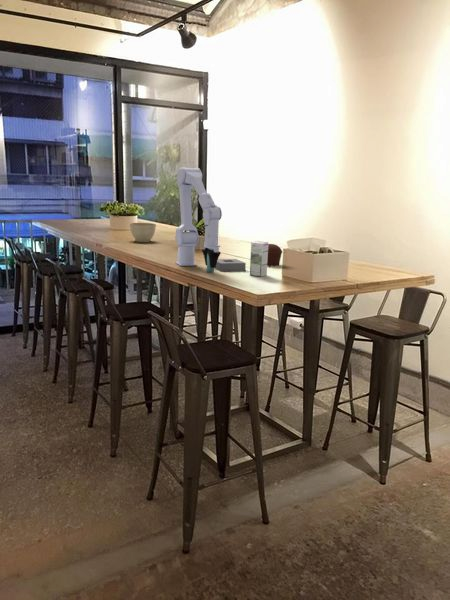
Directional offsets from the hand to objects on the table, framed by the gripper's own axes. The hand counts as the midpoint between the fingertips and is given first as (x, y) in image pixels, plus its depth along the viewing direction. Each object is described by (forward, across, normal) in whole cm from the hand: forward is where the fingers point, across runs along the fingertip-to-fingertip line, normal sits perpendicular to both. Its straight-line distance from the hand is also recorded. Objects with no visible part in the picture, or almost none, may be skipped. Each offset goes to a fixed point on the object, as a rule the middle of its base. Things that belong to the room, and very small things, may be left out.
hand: (210, 266), depth 227 cm
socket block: (+2, +7, -11) cm, 13 cm away
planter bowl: (+3, +110, +7) cm, 110 cm away
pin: (+2, 0, 0) cm, 2 cm away
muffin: (+3, +15, -36) cm, 39 cm away
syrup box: (+3, -11, -18) cm, 21 cm away
